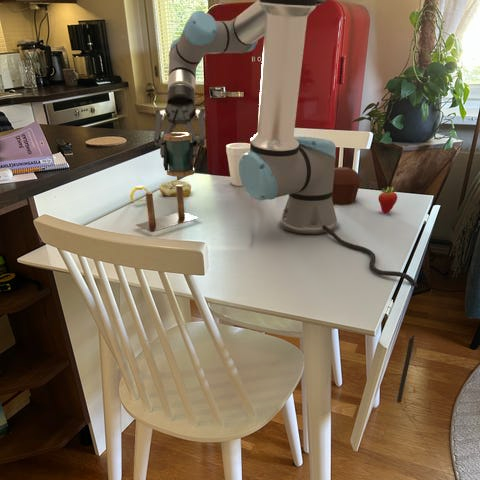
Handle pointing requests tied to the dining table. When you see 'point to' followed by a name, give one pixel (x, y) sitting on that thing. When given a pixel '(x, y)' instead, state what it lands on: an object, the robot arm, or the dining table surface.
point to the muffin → (345, 185)
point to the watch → (135, 190)
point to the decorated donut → (174, 188)
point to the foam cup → (236, 160)
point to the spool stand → (167, 220)
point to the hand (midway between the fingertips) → (178, 167)
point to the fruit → (387, 199)
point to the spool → (178, 153)
